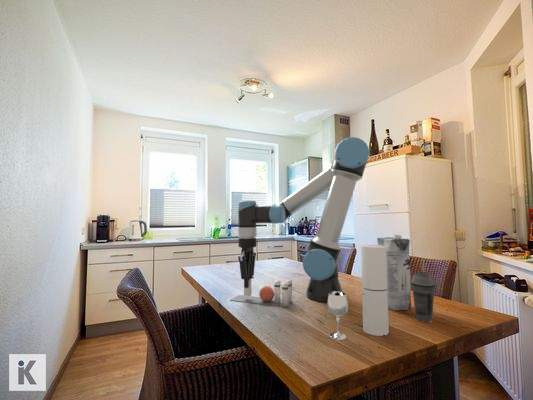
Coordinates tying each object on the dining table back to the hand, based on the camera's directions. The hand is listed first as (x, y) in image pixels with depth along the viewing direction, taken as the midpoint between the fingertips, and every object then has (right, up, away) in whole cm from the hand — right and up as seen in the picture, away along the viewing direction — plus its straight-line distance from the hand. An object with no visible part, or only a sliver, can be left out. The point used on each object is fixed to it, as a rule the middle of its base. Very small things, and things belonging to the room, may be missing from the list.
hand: (247, 295), depth 114 cm
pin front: (+12, -1, -5) cm, 13 cm away
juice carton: (+56, -1, -10) cm, 57 cm away
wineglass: (+28, 0, -35) cm, 45 cm away
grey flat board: (+6, -2, -2) cm, 6 cm away
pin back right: (+17, -1, -4) cm, 17 cm away
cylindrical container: (+40, 0, -32) cm, 51 cm away
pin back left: (+15, -1, -8) cm, 17 cm away
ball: (+8, +1, -3) cm, 8 cm away
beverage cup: (+60, 0, -23) cm, 64 cm away
